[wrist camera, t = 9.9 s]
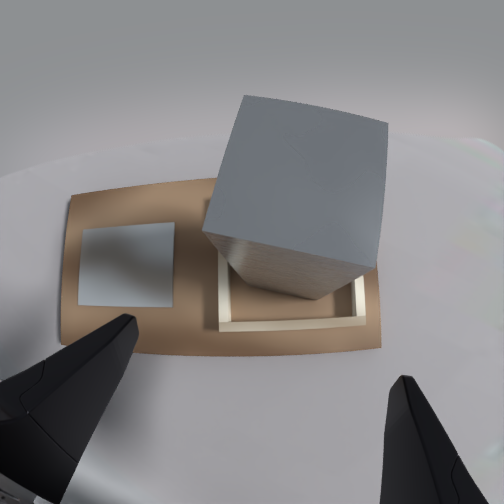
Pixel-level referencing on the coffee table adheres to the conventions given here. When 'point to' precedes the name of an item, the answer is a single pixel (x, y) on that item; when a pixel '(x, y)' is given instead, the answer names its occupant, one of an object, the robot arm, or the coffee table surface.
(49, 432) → the robot arm
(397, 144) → the coffee table surface
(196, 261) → the wooden board
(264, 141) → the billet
